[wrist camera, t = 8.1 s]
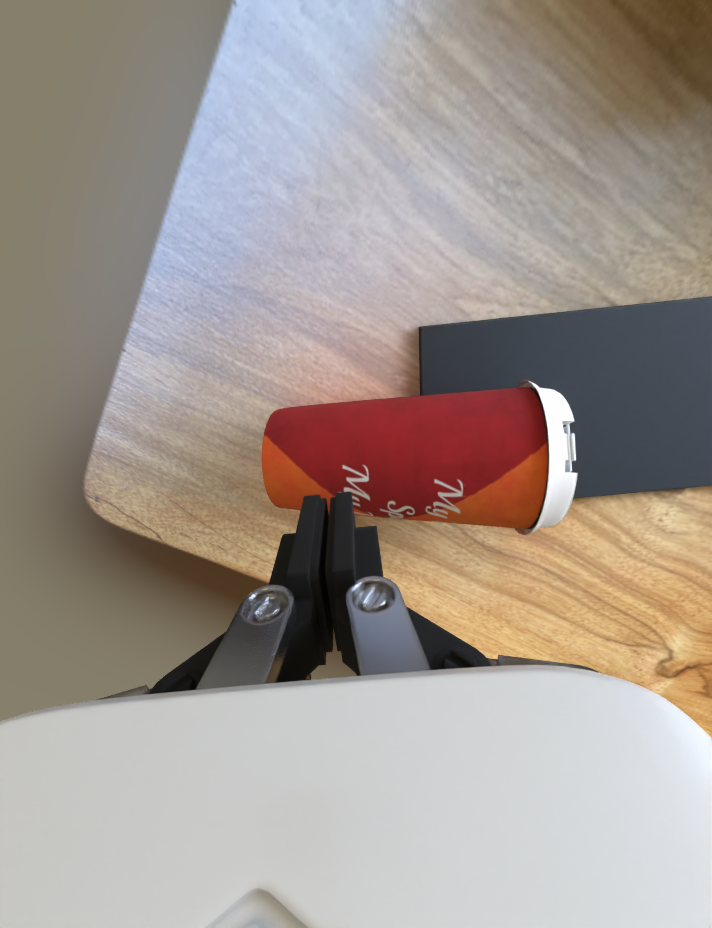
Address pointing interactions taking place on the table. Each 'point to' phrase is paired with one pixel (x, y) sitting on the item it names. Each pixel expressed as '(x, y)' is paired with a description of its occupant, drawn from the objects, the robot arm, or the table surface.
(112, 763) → the robot arm
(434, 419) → the paper cup
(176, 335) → the table surface
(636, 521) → the table surface
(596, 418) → the mat
